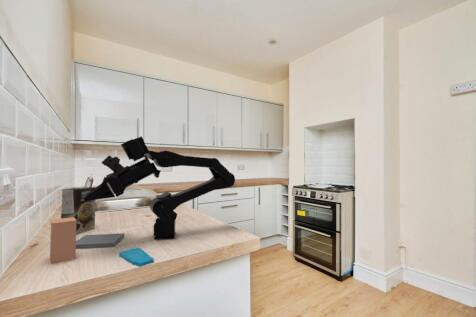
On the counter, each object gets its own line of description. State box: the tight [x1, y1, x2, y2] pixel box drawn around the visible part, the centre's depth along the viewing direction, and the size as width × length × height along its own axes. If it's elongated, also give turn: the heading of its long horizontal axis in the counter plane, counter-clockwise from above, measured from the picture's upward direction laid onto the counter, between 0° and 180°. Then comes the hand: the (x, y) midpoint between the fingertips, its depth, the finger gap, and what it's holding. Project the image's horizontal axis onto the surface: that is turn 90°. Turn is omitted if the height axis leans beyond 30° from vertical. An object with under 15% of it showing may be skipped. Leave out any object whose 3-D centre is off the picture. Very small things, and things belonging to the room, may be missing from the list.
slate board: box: [76, 232, 125, 250], centre depth 73 cm, size 12×10×1 cm
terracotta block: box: [49, 217, 77, 265], centre depth 60 cm, size 5×5×10 cm
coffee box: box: [60, 186, 97, 235], centre depth 86 cm, size 9×6×16 cm
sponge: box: [118, 247, 155, 267], centre depth 60 cm, size 2×12×6 cm
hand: (85, 197), depth 68 cm, fingers open, 9 cm apart
